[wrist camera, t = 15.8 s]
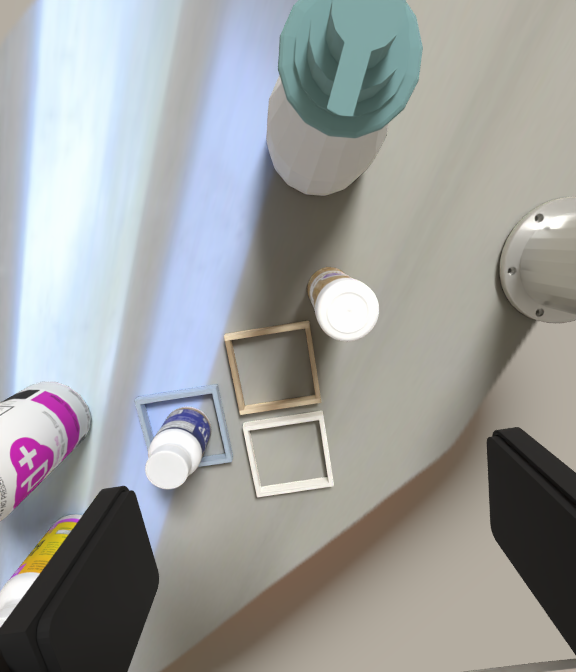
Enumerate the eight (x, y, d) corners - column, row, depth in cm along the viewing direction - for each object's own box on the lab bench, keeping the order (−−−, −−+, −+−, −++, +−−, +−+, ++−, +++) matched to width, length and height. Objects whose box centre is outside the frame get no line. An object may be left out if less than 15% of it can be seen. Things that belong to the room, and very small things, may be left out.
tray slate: (217, 384, 44) (215, 388, 42) (233, 456, 46) (231, 461, 45) (138, 396, 44) (134, 400, 43) (157, 467, 46) (154, 473, 45)
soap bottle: (256, 181, 39) (220, 103, 16) (283, 72, 36) (282, -188, 14) (351, 209, 39) (440, 170, 17) (383, 104, 37) (531, -97, 15)
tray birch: (308, 320, 42) (309, 322, 41) (320, 398, 44) (321, 402, 43) (225, 333, 42) (224, 336, 41) (241, 410, 44) (240, 415, 43)
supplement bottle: (61, 503, 47) (-20, 599, 35) (114, 522, 48) (54, 623, 35) (46, 547, 48) (-37, 654, 36) (98, 564, 49) (34, 675, 37)
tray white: (322, 410, 44) (323, 415, 43) (332, 479, 47) (333, 486, 45) (243, 422, 45) (242, 427, 44) (257, 490, 47) (257, 497, 46)
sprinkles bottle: (338, 259, 40) (364, 268, 27) (356, 298, 41) (390, 325, 28) (298, 279, 41) (305, 298, 28) (317, 317, 42) (333, 353, 29)
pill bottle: (211, 449, 45) (194, 498, 37) (165, 445, 45) (137, 494, 37) (213, 406, 44) (195, 447, 36) (166, 403, 44) (137, 443, 35)
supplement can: (97, 386, 43) (3, 461, 29) (89, 452, 45) (-2, 553, 31) (22, 372, 43) (-112, 440, 28) (17, 439, 45) (-110, 535, 30)
